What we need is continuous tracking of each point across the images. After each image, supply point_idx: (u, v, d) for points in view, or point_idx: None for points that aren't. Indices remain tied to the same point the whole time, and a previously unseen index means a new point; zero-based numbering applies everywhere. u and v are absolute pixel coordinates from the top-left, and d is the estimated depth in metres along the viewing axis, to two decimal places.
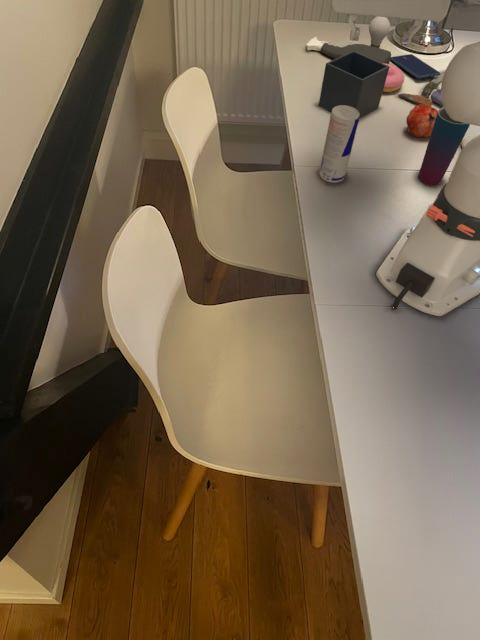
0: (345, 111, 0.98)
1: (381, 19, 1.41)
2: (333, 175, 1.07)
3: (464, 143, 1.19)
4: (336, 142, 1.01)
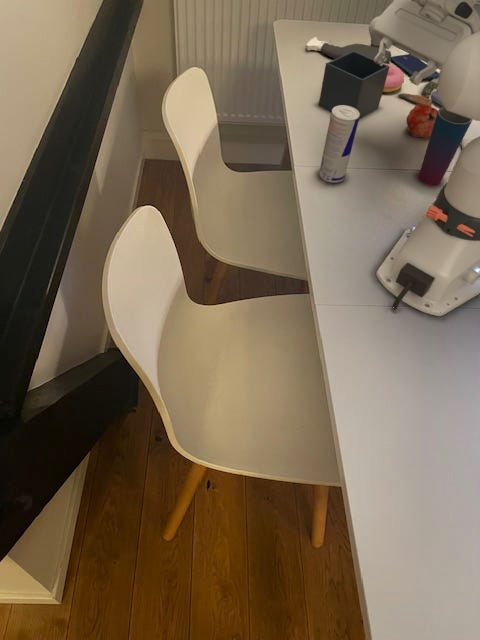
0: (345, 111, 0.98)
1: None
2: (333, 175, 1.07)
3: (464, 143, 1.19)
4: (336, 142, 1.01)
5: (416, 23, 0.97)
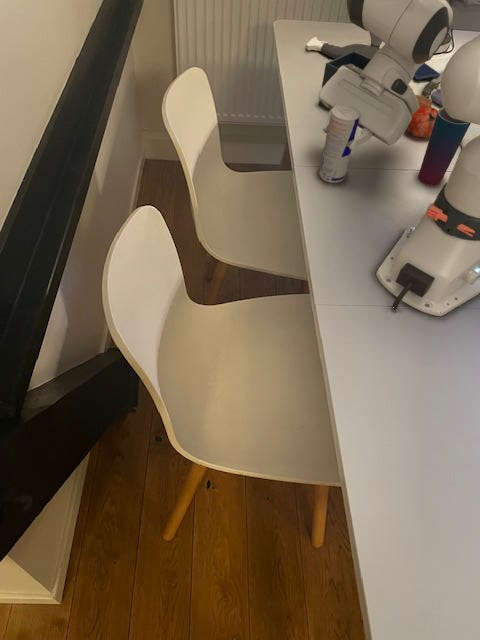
0: (345, 111, 0.98)
1: None
2: (333, 175, 1.07)
3: (464, 143, 1.19)
4: (336, 142, 1.01)
5: (357, 95, 1.00)
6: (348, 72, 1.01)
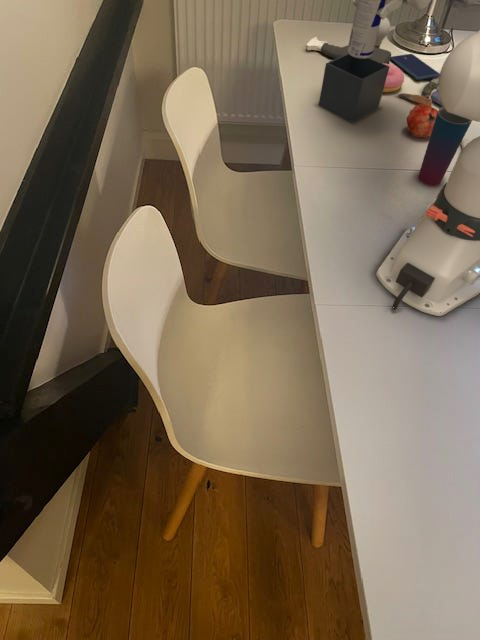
0: None
1: (381, 19, 1.41)
2: (362, 49, 1.08)
3: (464, 143, 1.19)
4: (366, 10, 1.02)
5: None
6: None
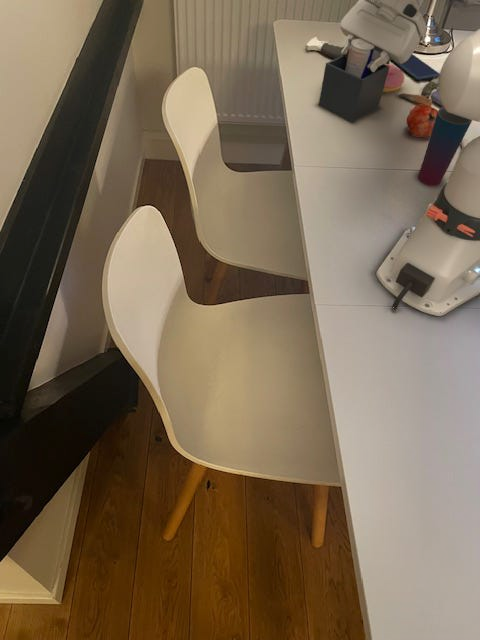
0: (362, 43, 1.17)
1: None
2: None
3: (464, 143, 1.19)
4: (354, 70, 1.20)
5: (373, 21, 1.17)
6: (365, 3, 1.19)
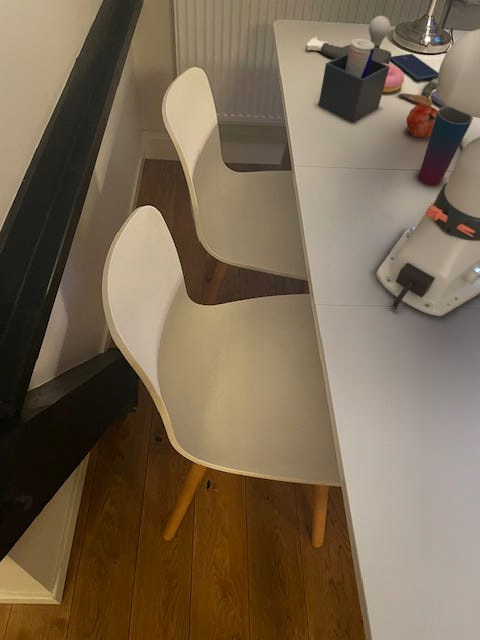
0: (362, 43, 1.17)
1: (381, 19, 1.41)
2: None
3: (464, 143, 1.19)
4: (354, 70, 1.20)
5: None
6: None
